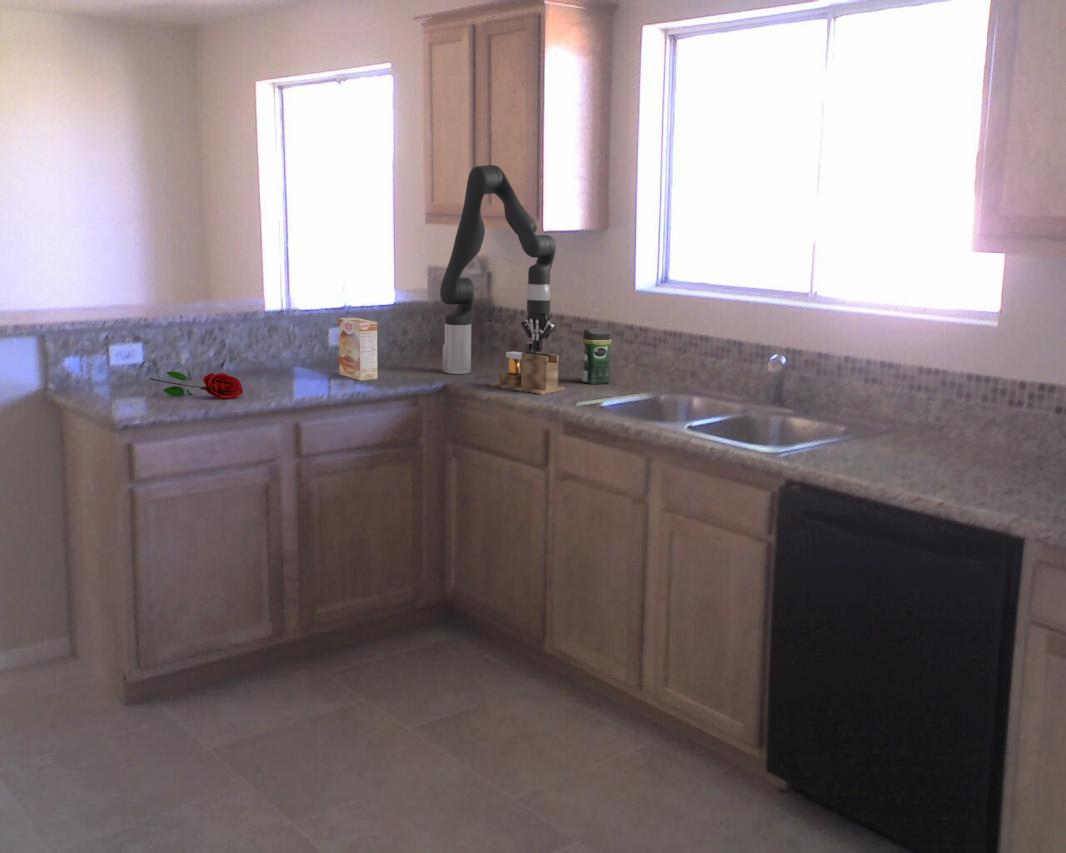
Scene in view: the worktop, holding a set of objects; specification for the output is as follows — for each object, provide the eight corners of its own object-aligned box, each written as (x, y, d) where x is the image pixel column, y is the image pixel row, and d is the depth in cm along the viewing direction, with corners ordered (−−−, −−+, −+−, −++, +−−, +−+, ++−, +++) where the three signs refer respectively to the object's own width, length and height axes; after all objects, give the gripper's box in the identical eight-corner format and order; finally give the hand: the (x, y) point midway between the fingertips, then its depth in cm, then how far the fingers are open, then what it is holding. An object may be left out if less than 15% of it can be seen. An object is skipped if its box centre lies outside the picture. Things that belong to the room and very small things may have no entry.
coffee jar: (605, 380, 390) (607, 326, 386) (613, 384, 383) (615, 329, 379) (578, 380, 388) (580, 326, 384) (585, 384, 380) (587, 329, 376)
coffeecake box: (338, 374, 389) (337, 317, 385) (357, 372, 393) (356, 316, 389) (359, 380, 377) (359, 322, 373) (378, 379, 382) (378, 321, 378)
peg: (514, 384, 372) (514, 360, 370) (506, 382, 374) (506, 358, 373) (522, 382, 374) (522, 358, 373) (514, 381, 377) (514, 357, 375)
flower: (145, 358, 341) (241, 370, 339) (156, 369, 350) (249, 380, 348) (138, 387, 338) (235, 399, 336) (149, 396, 347) (243, 408, 345)
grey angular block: (506, 357, 373) (506, 340, 372) (512, 356, 375) (513, 339, 374) (533, 361, 365) (534, 344, 364) (540, 360, 368) (541, 343, 367)
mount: (491, 386, 373) (491, 350, 371) (515, 382, 382) (515, 347, 380) (540, 394, 360) (541, 357, 357) (564, 390, 369) (565, 354, 366)
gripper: (515, 297, 364) (514, 350, 367) (547, 300, 355) (545, 355, 359) (530, 295, 369) (529, 348, 373) (562, 299, 361) (560, 352, 365)
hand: (537, 351), depth 366 cm, fingers closed
